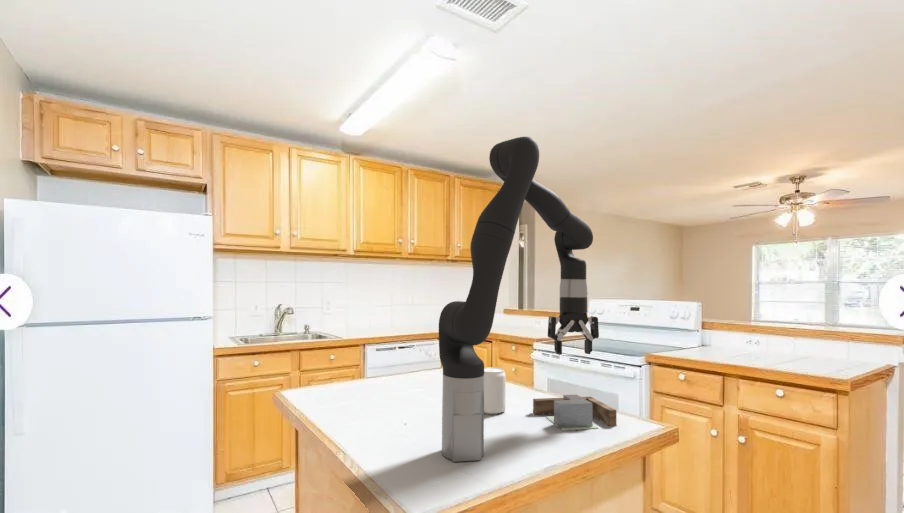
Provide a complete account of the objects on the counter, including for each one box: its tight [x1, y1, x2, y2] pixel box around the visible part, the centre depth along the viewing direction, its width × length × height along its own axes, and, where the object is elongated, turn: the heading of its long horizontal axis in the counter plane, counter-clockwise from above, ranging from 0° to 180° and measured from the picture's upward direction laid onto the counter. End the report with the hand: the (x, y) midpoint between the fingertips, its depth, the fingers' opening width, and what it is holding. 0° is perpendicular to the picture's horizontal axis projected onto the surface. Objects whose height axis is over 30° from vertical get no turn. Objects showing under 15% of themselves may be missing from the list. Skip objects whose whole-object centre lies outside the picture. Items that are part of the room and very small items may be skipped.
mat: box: [545, 415, 599, 431], centre depth 120 cm, size 11×10×1 cm
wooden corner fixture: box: [532, 396, 617, 427], centre depth 123 cm, size 14×18×4 cm
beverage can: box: [484, 366, 507, 415], centre depth 130 cm, size 8×8×12 cm
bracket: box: [553, 394, 594, 429], centre depth 120 cm, size 9×9×6 cm
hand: (573, 353), depth 124 cm, fingers open, 8 cm apart
